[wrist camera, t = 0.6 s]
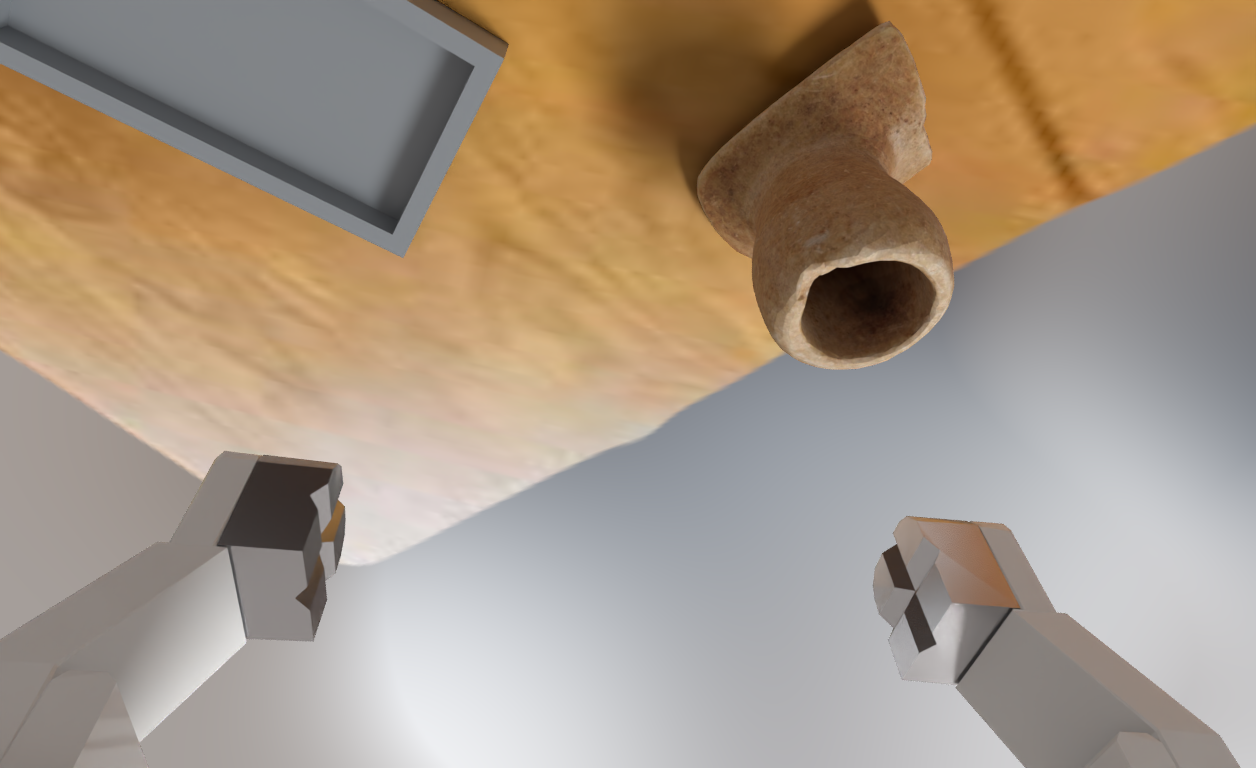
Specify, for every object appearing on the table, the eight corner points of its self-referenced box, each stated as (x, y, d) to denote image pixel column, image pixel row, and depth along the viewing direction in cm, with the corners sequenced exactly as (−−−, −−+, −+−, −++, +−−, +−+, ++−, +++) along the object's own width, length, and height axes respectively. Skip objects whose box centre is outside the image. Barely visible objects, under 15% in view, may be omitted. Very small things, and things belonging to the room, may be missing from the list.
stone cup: (769, 290, 57) (815, 425, 45) (670, 167, 52) (693, 286, 40) (966, 160, 52) (1077, 276, 40) (880, 6, 46) (979, 88, 34)
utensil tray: (30, -248, 38) (-8, -249, 36) (508, 44, 47) (504, 58, 44) (-9, 28, 45) (-43, 42, 43) (411, 236, 54) (403, 258, 51)
